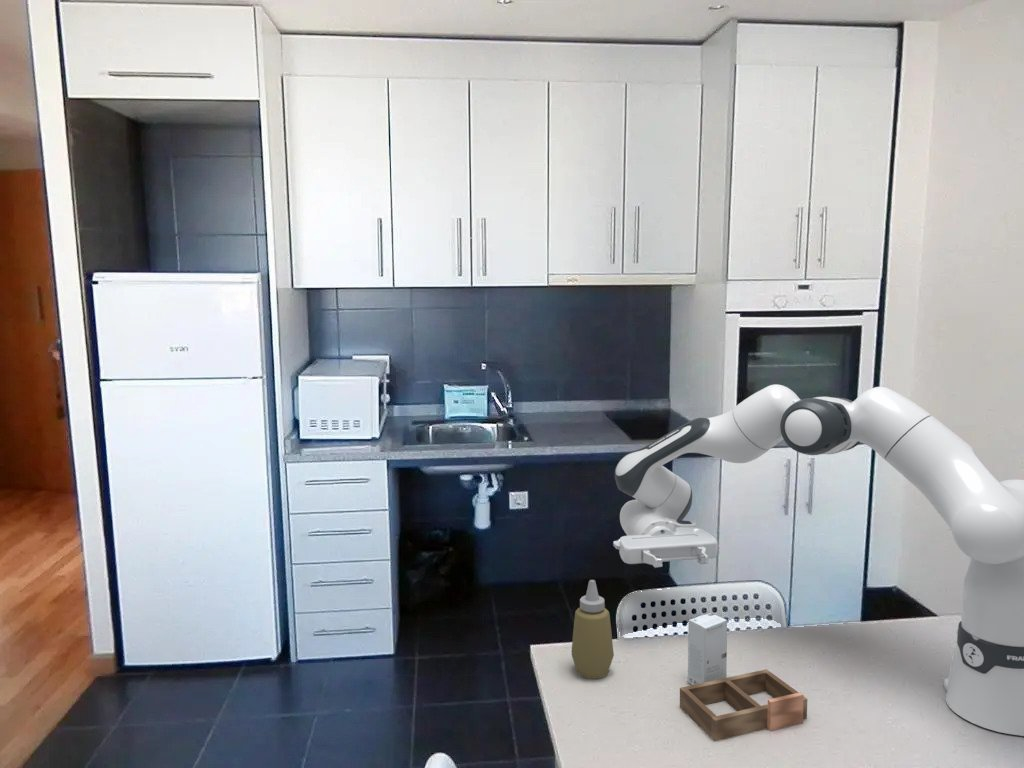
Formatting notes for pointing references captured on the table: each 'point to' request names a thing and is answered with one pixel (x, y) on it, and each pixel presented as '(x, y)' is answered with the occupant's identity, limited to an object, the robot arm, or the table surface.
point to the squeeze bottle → (592, 635)
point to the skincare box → (707, 648)
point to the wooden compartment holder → (744, 704)
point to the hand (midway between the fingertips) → (681, 562)
